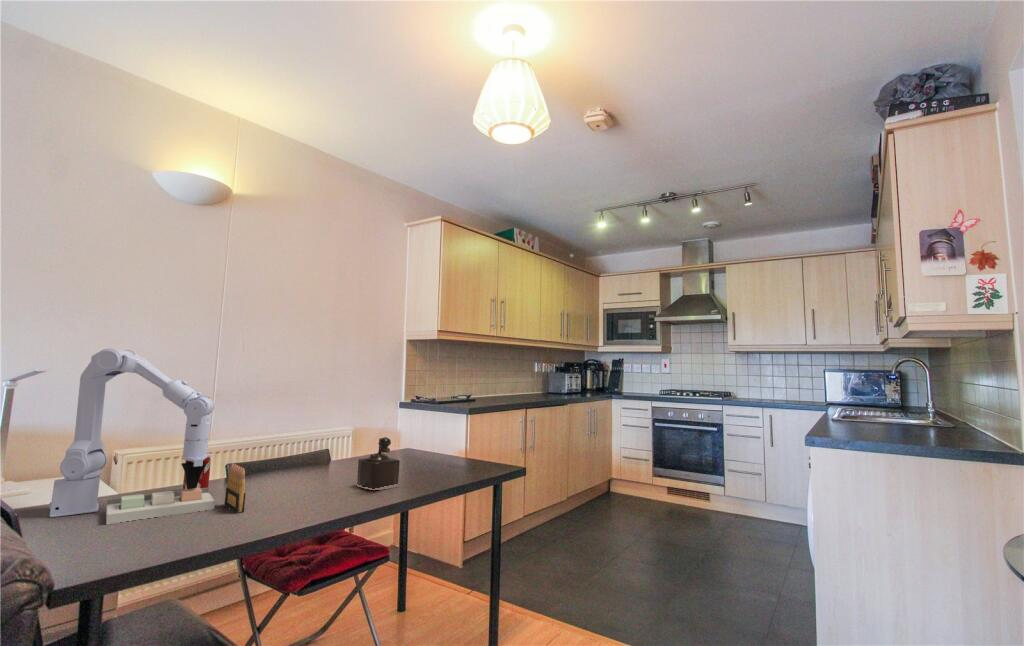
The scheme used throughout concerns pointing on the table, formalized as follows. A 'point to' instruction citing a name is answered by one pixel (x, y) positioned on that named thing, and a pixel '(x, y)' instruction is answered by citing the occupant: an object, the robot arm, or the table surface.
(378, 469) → the dark box with figurine
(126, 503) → the key left
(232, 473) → the pencil pack
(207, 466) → the soda can
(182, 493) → the key right
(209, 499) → the keypad
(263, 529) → the table surface
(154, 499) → the key middle
